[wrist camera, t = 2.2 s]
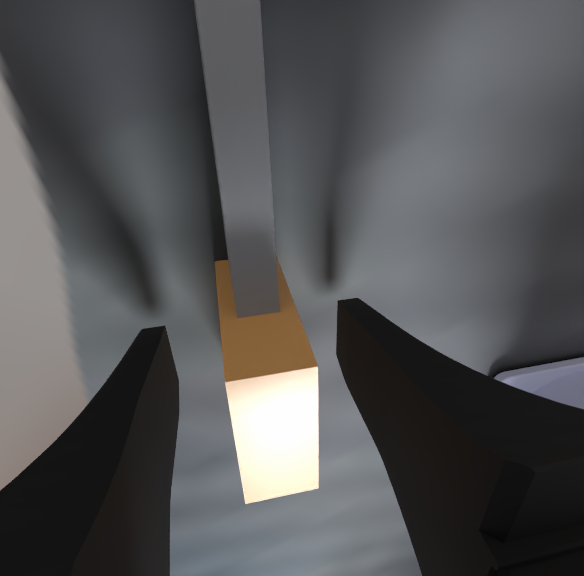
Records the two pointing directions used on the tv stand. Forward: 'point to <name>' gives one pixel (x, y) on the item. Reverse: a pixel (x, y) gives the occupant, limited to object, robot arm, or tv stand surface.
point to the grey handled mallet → (255, 268)
